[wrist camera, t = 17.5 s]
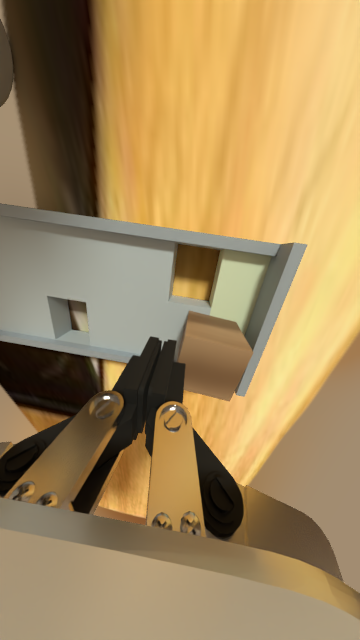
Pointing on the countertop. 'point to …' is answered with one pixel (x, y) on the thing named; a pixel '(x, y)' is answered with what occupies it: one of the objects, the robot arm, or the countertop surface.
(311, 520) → the robot arm
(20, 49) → the countertop surface
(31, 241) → the trap box
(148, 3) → the countertop surface
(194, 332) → the block
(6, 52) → the travel mug
